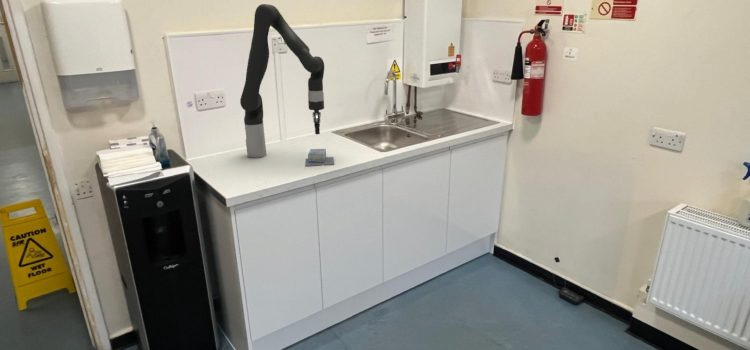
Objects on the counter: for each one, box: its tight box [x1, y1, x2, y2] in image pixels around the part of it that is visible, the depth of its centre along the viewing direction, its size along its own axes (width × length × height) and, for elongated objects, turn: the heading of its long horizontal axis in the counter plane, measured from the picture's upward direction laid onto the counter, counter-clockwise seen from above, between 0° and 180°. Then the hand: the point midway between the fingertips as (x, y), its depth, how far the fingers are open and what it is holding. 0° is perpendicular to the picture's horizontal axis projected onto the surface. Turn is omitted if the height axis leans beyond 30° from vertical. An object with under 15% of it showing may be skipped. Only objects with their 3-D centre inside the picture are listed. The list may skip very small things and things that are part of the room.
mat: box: [304, 156, 335, 167], centre depth 229 cm, size 14×11×1 cm
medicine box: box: [307, 148, 327, 162], centre depth 231 cm, size 8×4×9 cm
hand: (317, 133), depth 230 cm, fingers closed
